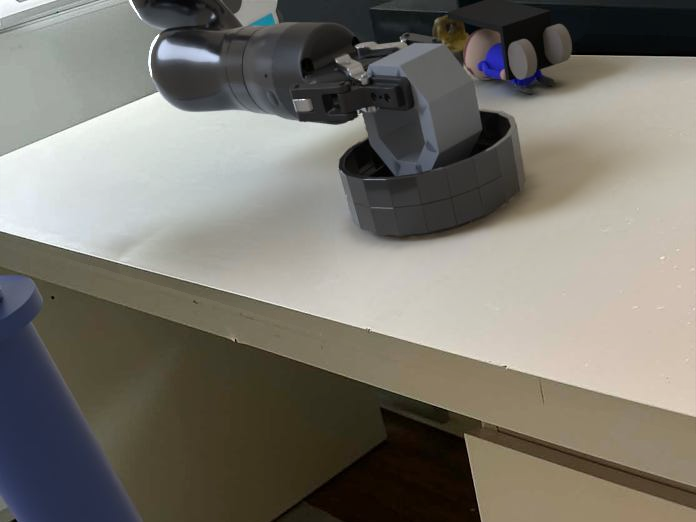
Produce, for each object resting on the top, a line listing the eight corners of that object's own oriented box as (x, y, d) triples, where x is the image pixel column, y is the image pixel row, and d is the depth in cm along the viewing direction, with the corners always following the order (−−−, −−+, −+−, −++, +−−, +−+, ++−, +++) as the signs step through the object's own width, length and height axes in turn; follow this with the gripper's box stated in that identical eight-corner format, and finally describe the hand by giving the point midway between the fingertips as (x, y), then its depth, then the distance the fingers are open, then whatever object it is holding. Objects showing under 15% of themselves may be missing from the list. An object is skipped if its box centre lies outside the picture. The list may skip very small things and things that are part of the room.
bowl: (386, 259, 75) (369, 195, 71) (335, 209, 85) (318, 151, 82) (555, 197, 77) (546, 132, 73) (485, 156, 88) (474, 97, 84)
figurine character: (580, 96, 100) (501, 63, 108) (576, 14, 94) (492, -13, 103) (528, 117, 98) (452, 83, 107) (521, 35, 92) (441, 6, 101)
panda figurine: (266, 86, 125) (223, -50, 114) (207, 89, 130) (160, -41, 120) (321, 56, 131) (285, -76, 121) (262, 60, 137) (223, -66, 126)
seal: (399, 101, 110) (493, 56, 116) (391, 56, 107) (488, 12, 112) (353, 86, 116) (444, 43, 121) (343, 43, 112) (438, 1, 117)
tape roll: (377, 175, 81) (348, 63, 75) (419, 153, 83) (393, 42, 77) (446, 186, 76) (420, 67, 70) (488, 162, 78) (467, 44, 72)
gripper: (224, 52, 77) (353, 58, 67) (353, -3, 83) (489, -5, 73) (256, 149, 83) (381, 167, 73) (376, 91, 89) (506, 100, 78)
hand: (434, 81), depth 73 cm, fingers closed on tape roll, 5 cm apart
